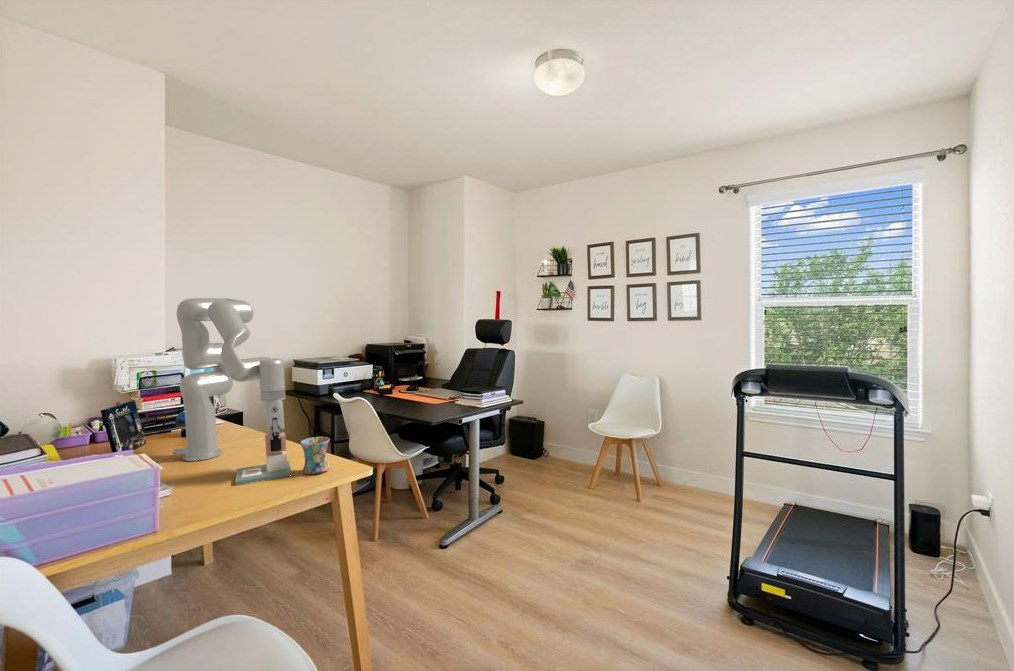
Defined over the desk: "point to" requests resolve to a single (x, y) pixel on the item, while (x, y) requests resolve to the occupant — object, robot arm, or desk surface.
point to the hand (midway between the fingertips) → (275, 447)
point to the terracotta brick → (268, 446)
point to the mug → (315, 455)
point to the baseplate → (265, 469)
